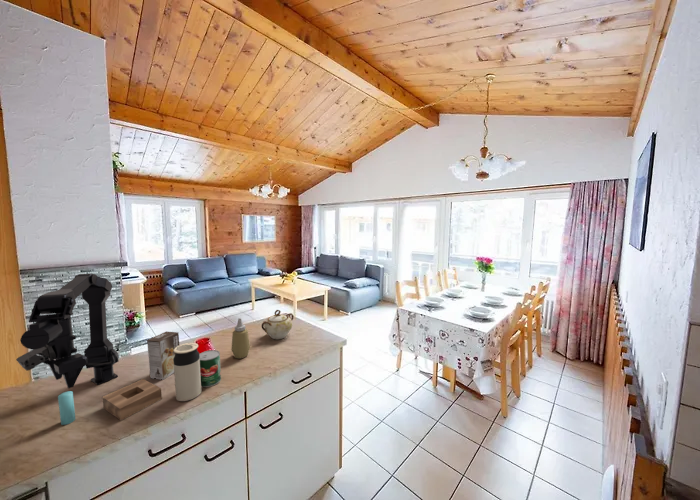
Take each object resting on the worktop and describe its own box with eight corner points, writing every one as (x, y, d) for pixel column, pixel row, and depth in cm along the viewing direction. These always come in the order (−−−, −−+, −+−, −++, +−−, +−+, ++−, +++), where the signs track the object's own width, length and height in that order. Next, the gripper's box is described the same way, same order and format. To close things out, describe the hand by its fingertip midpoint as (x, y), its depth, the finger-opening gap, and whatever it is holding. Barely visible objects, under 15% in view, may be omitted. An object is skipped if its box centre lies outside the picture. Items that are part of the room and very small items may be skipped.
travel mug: (183, 404, 94) (180, 354, 92) (171, 396, 98) (168, 348, 96) (205, 392, 101) (203, 345, 99) (193, 385, 105) (191, 340, 103)
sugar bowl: (269, 346, 138) (269, 317, 136) (254, 337, 148) (254, 310, 146) (301, 334, 152) (301, 308, 151) (286, 327, 162) (285, 302, 161)
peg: (59, 422, 85) (56, 395, 84) (73, 416, 88) (70, 390, 87) (63, 426, 84) (60, 398, 83) (77, 419, 87) (74, 393, 86)
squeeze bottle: (227, 358, 126) (226, 320, 124) (240, 350, 133) (239, 314, 131) (241, 361, 123) (240, 322, 121) (254, 353, 130) (252, 316, 128)
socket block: (103, 408, 92) (102, 396, 92) (143, 388, 103) (143, 378, 102) (120, 420, 86) (119, 408, 86) (161, 398, 97) (161, 388, 97)
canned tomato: (217, 373, 113) (215, 348, 112) (224, 381, 108) (223, 354, 107) (195, 381, 108) (194, 354, 107) (202, 390, 102) (200, 362, 101)
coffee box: (168, 366, 118) (166, 330, 117) (181, 368, 117) (179, 332, 115) (149, 378, 109) (146, 339, 108) (163, 380, 108) (160, 341, 106)
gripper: (8, 338, 80) (14, 388, 82) (29, 353, 72) (36, 408, 73) (61, 325, 90) (66, 370, 92) (86, 337, 81) (91, 386, 83)
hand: (64, 383), depth 85 cm, fingers open, 9 cm apart
